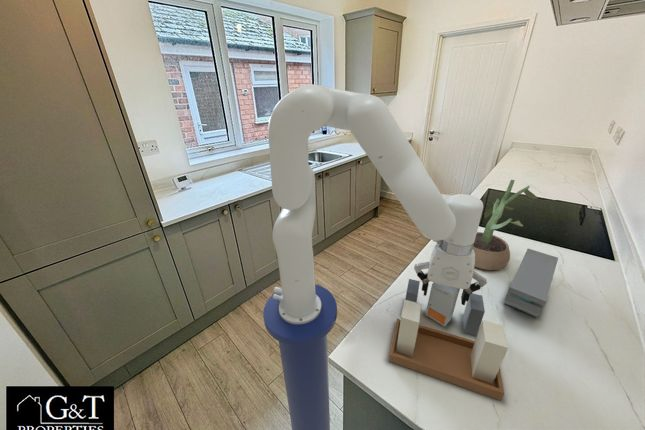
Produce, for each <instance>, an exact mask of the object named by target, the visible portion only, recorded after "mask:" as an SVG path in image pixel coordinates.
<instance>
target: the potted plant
mask: <svg viewBox="0 0 645 430" xmlns="http://www.w3.org/2000/svg"><path fill="white" fill-rule="evenodd" d="M515 181H516V180H515V179H510V181H509V183H508V186H507V187H506V190H505V193H504V194H503V196H502V198H501V200H500V199H499V198H496V200H495V202H493V206H492V207H490V208H488V209H486V210H485V211H484V212H483V218H484V219H487V218H488V217H490V216H491V217H490V218H489V220H488V221H487V223H486V225H485V228H484V230H483V232H481V231H477V234H476V238H475V241H474V245H473V250H474V253H475V265H474V268H478V269H480V270H486V271H496V270H500V269H502V268H504V267H506V266H507V265H508V263H509V262H510V259H511V250H510V246H509V244H508V243H507V241H506V240H505V239H503V238H501V237H499V236H497V235H495V234H494V231H495V230H498V229H501V228H503V227H505V226H506V225H508V224H509V223H510V224H513V225H515V226H519V227H524V224H522V223H521V221H520V220H515V221H513V218H511V217H510V218H508V219H507V220H505V221H503V222H501V223H498V221H499V219H501V217H502V215H503V212H504V210H505V209H506V210H512V211H513V210H514V208H512V207H510V206H508V204H509V203H511V202H512V201H514V200H515V199H516V198H517V197H518V196H520V195H521V194H522V193H524V195H525V196H526V197H528V199H535V200H538V197H537V195H535V194H534V193H533V192H532V191H530V190H529V189H530V185H526V186H525V187H523V188H521V189H520V190H518V191H517V192H515V193H513V195H511V196H510V194H511V192H512V190H513V186H514V184H515ZM497 223H498V224H497Z"/></svg>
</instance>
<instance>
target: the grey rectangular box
mask: <svg viewBox="0 0 645 430" xmlns="http://www.w3.org/2000/svg"><path fill="white" fill-rule="evenodd" d="M558 262H559V257H557V256H555V255H551V254H547V253H544V252H541V251H539V250H535V249H531V248H527V249H526V251H525V253H524V255H523V258H522V259H521V262H520V264H519V266H518V268H517V270H516V273H515V274H514V276H513V279H512V281H511V283H510V285H509V287H508V290H507V293H506V296H505V299H504V304H505V305H507V306H509V307H512V308H514V309H516V310H519V311H521V312H523V313H526V314H528V315H530V316H533V317H535V318H537V317H540V315H541V313H542V310H543V308H544V307H545V305H546V304H547V300H548V296H549V293H550V290H551V285H552V282H553V279H554V275H555V271H556V269H557V268H556V267H557V264H558Z"/></svg>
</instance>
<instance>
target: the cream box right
mask: <svg viewBox="0 0 645 430" xmlns="http://www.w3.org/2000/svg"><path fill="white" fill-rule="evenodd" d="M474 341H475V343H474V346H473V349H472V352H471V365H472V377H473V378H476V379H479V380H482V381H485V382H488V383H491V384H493V382H494V380H495V377H496V375H497V373H498V370H499V368H500V369H501V365H502V363H503V361H504V359H505V357H506V354H507V351H508V350H509V346H508V341H507V338H506V332H505V327H504V325H503V324H500V323H496V322H492V321H489V320H484V319H482V321H481V324H480V327H479V330H478V333H477V336H475V340H474Z"/></svg>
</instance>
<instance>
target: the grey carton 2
mask: <svg viewBox="0 0 645 430" xmlns="http://www.w3.org/2000/svg"><path fill="white" fill-rule="evenodd" d="M484 304H485V303H484V297H483V295H481V294H477V293H474V292H473V293H472V294H470V297H469V300H468V301H466V303H465V307H464V312H463V315H462V323H463V333H464V334H468V335H471V336H475V337H477V334H478V331H479V329H480V326H481V323H482V320H483V318H484V315H485V314H486V313H485V312H486V311H485V305H484Z"/></svg>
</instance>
